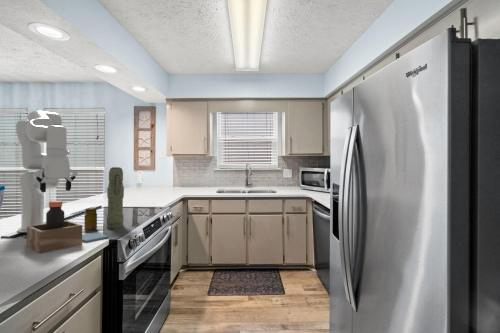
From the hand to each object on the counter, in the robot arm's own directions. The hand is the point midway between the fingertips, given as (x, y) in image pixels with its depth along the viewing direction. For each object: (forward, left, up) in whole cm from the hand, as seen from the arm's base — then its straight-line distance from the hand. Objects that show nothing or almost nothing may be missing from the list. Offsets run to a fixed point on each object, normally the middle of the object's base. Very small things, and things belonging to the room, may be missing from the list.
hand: (56, 191), depth 125 cm
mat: (0, +16, -25) cm, 29 cm away
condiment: (-16, +24, -25) cm, 38 cm away
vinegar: (0, 0, -25) cm, 25 cm away
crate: (0, 0, -25) cm, 25 cm away
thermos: (-14, +36, -25) cm, 46 cm away
